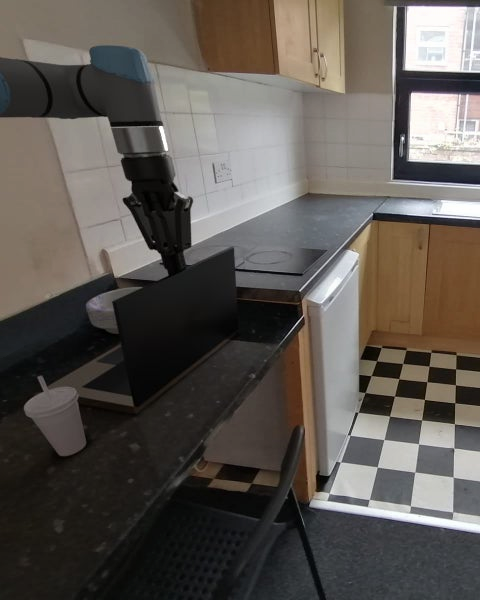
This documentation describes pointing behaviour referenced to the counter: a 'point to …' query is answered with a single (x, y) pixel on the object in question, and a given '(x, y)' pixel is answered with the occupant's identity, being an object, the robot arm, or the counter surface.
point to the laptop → (113, 381)
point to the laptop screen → (176, 322)
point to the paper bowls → (106, 309)
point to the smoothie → (58, 418)
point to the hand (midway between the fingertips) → (180, 285)
